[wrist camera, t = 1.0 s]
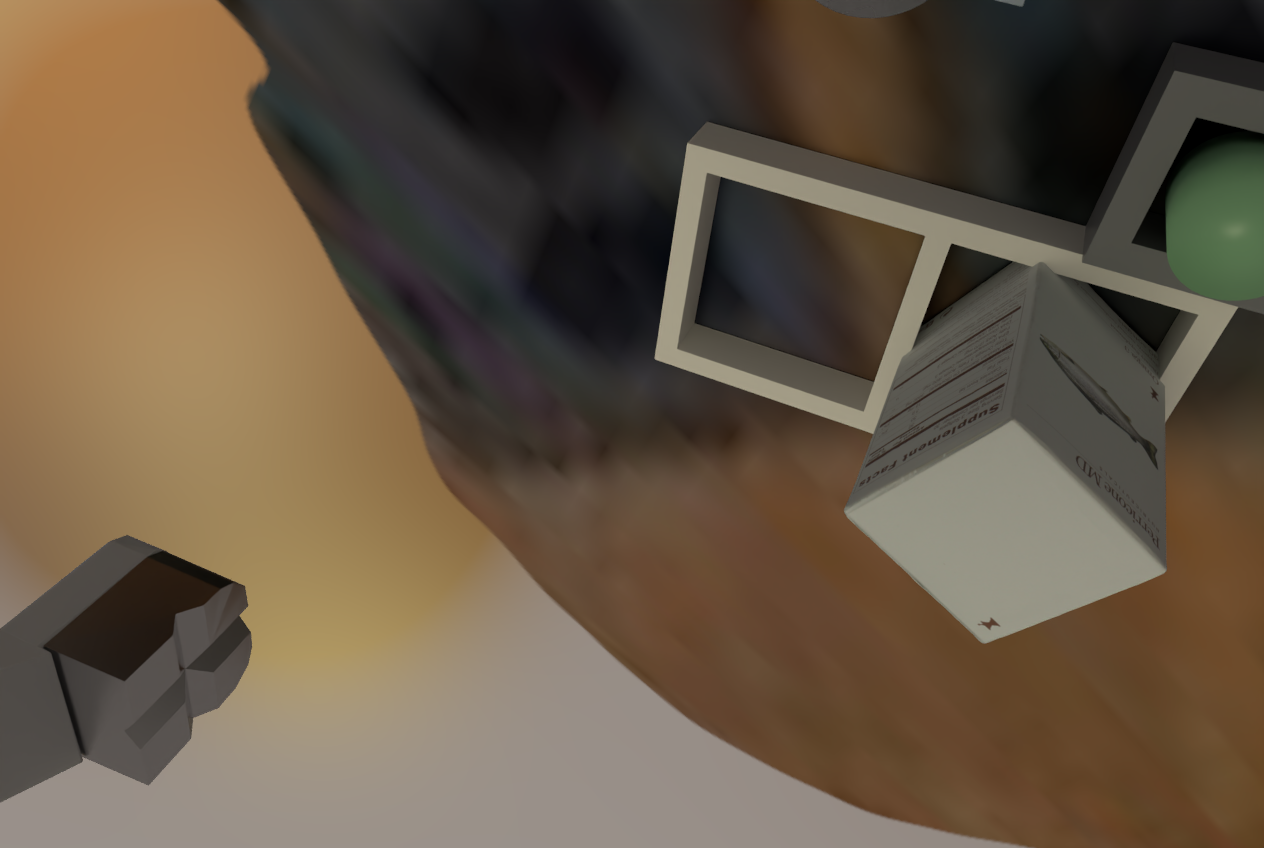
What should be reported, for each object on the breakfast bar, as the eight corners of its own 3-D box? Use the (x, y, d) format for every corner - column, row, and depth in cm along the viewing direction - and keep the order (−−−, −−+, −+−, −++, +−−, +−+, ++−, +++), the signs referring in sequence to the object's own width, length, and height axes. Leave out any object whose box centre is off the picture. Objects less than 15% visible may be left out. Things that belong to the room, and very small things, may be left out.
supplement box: (1171, 358, 38) (1178, 580, 29) (1015, 442, 43) (979, 653, 34) (1048, 228, 37) (1016, 417, 28) (902, 330, 42) (836, 517, 33)
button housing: (1172, 42, 32) (1174, 70, 30) (1403, 94, 30) (1422, 128, 28) (1085, 226, 37) (1081, 262, 35) (1281, 280, 35) (1290, 321, 33)
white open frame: (672, 333, 47) (654, 359, 46) (707, 121, 40) (687, 143, 38) (1109, 478, 43) (1107, 513, 41) (1237, 268, 35) (1242, 300, 34)
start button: (1200, 117, 31) (1205, 164, 28) (1333, 149, 30) (1352, 202, 28) (1143, 225, 34) (1144, 278, 31) (1264, 258, 33) (1275, 316, 30)
